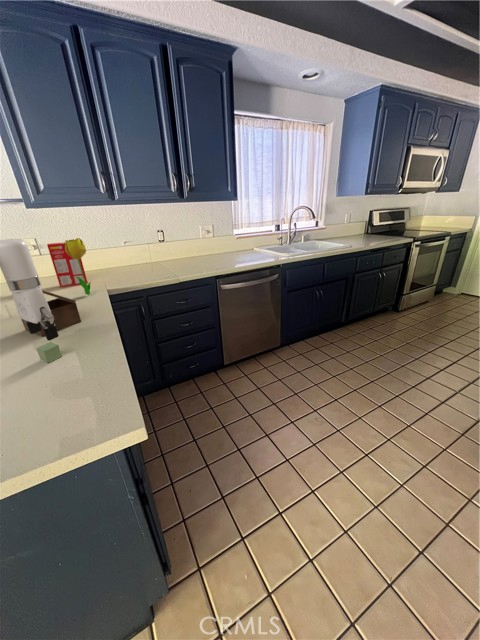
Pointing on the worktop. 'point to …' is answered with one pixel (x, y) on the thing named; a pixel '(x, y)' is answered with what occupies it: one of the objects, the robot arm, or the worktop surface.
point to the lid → (57, 296)
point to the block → (49, 352)
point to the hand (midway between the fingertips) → (44, 335)
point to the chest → (60, 315)
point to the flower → (77, 257)
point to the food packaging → (66, 266)
